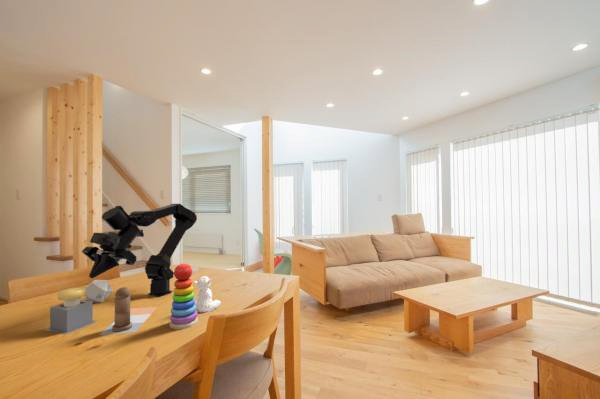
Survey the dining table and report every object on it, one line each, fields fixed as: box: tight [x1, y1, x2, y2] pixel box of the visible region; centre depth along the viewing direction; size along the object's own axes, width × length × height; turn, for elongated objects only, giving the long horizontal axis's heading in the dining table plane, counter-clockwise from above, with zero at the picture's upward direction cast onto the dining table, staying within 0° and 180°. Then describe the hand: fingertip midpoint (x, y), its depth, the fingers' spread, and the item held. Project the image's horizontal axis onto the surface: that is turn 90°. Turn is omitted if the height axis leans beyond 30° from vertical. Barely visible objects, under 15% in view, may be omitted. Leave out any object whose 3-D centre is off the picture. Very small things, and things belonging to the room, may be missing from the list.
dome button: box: [57, 286, 87, 308], centre depth 81 cm, size 6×6×7 cm
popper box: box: [44, 299, 99, 335], centre depth 81 cm, size 9×9×7 cm
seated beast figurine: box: [193, 275, 222, 313], centre depth 95 cm, size 10×9×12 cm
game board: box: [98, 306, 158, 336], centre depth 85 cm, size 20×9×1 cm, turn 10°
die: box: [84, 279, 114, 304], centre depth 104 cm, size 8×9×10 cm
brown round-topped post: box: [112, 286, 132, 332], centre depth 79 cm, size 5×5×12 cm
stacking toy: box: [168, 263, 199, 330], centre depth 83 cm, size 8×8×19 cm
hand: (90, 277), depth 86 cm, fingers closed
